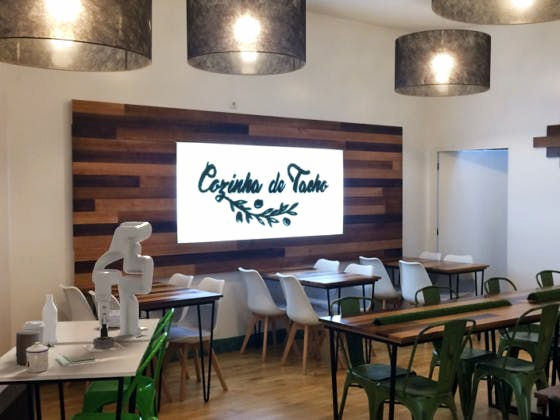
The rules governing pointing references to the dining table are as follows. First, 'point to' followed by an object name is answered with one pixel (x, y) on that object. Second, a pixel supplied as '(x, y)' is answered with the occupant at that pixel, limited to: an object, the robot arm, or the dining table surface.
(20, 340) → the pillar candle
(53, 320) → the water bottle
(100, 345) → the block
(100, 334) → the steel peg
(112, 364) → the dining table surface
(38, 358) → the teacup with lid
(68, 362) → the sage pad
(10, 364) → the dining table surface
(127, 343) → the dining table surface
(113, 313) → the paper bowls
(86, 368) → the dining table surface
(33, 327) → the coffee cup
